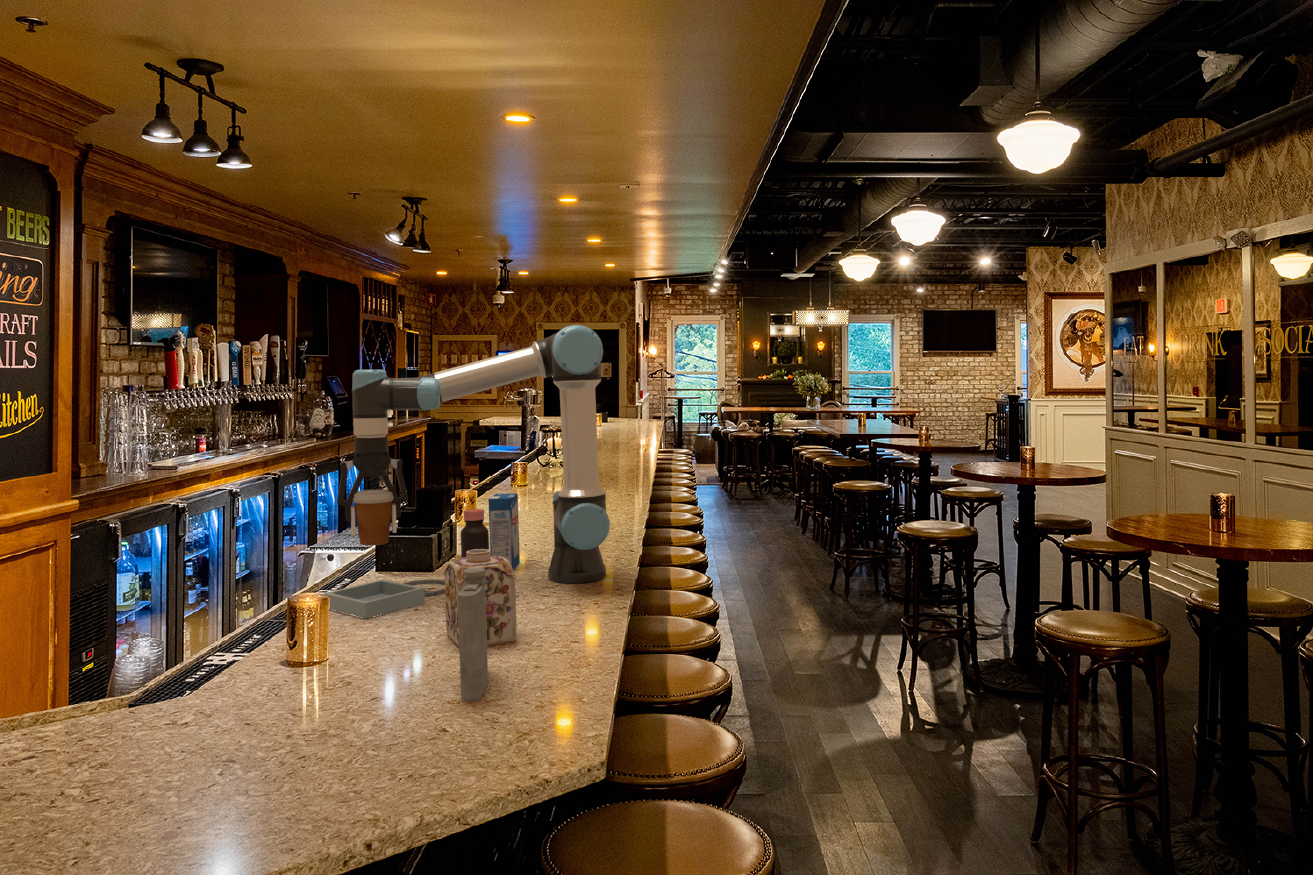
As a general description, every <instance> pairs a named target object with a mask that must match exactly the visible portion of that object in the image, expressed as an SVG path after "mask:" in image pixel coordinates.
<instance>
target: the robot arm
mask: <svg viewBox="0 0 1313 875" xmlns="http://www.w3.org/2000/svg"><path fill="white" fill-rule="evenodd" d="M603 356H604V349H603V343H602V340H601V338H600V337H599V335H598V334H597V332H595V331H594V330H593V329H591V328H590V327H588V326H585V325H582V324H574V325H568V326H565V327H563V328H562V329H560V330H559V331H558V332H555V333H553V334H552V335H550V336H548V337H545V338H542V339H539V340H536V341H535V340H534V341H533V343H532V345H531V346H528V347H525V348H521V349H518V350H513V351H510V352H506V353H502V354H499V355H495V356H491V357H488V358H484V359H481V360H477V361H473V362H469V363H466V364H461V365H459V366H455V367H451V368H447V369H445V370H440V371H437V372H434V373H428V374H426V375H421V376H418V377H399V378H397V377H396V378H394V377H388V375H387V371H386V370H385V369H357V370H354V372H353V373H352V383H351V384H352V389H351V395H352V413H353V415H352V417H353V422H352V424H353V435H354V436H356V437H354V439H353V447H354V448H353V450H354V451H353V454H354V456H353V458H352V460H348V461H341V462H340V470H341V475H340V476H341V477H340V481H339V488H338V492H337V498H336V503H337V505H338V506H342V507H344V509H345V510H344V511H345V520H346V522H350V529H351V534H350V535H351V537H355V536H356V514H355V507H354V505H352V504H353V503H354V502H353V499H354V495H355V494H357V491H359V488H360V487H361V484H362V482H363V480H364V478H369V477H381V478H382V481H383V482H384V484H385V486H386V488H387V490H389V492H392V494H393V497H394V498H393V502H394V503H392V511H391V532H392V533H393V534H394V533H395V534H396V533H397V519H399V518H401V516H402V511H401V510H402V506H401V505H402V503H406V502H408V501H409V493H408V491H407V486H406V482H405V476H404V473H403V464H404V461H403V460H402V459H400V458H399V459H394V458H391V457H390V455H389V452H390V451H389V438H388V437H387V435H388V434H389V428H388V427H389V425H388V424H389V422H388V421H389V420H388V411H425V412H426V411H429V410H438V409H439V408H440V406H441V403H443V402H447V401H450V400H451V401H452V400H453V399H457V398H463V397H466V396H469V395H473V394H476V393H480V392H483V391H484V392H485V391H487V390H490V389H494V388H498V387H501V386H506V385H509V384H513V383H515V382H516V383H517V382H519V381H523V380H527V379H531V378H534V377H539V376H541V377H542V378H544V379H546V378H549V377H552V382H553V384H554V385H555V386H556V387H557V388H558V389H559V401H560V403H559V405H560V425H561V447H562V449H561V450H562V471H563V488H562V489H560V490H558V491H555V492H554V493H553V496H552V498H553V499H552V502H551V503H552V508H553V510H552V511H553V513H552V514H553V540H554V542H553V543H554V548H553V552H552V556H551V559H550V563H549V564H550V566H548V570H547V572H548V573H547V574H548V579H549V580H550V581H552V582H556V583H562V584H582V583H584V584H585V583H591V582H596V581H601V580H602V579H604V578H606V576H607V567H606V564H605V563H604V559H603V557H602V552H601V549H600V545H602V544H603V543H604V542H605V541H606V538H608V535H609V533H610V528H611V526H610V525H611V522H610V518H609V517H610V516H609V515H608V513H607V500H606V496H607V494H606V493H607V492H606V490H604V489H603V487H601V486H600V478H599V477H600V476H599V453H598V452H599V451H598V450H599V448H598V432H597V431H598V429H597V427H598V426H597V403H596V401H597V400H596V387H597V386H598V385H599V384H600V383H601V381H602V368H601V362H602V359H603ZM390 464H391V465H392V468H393V469H395V473H396V477H397V480H398V486H399V489H400V495H401V496H399V495H398V493H397V491H396V489H395V488H394V486H393V484H392V482H391V480H390V478H389V476H388V474H387V472H386V470H387V469H388V467H389V466H390ZM353 466H354V468H355V469H356V470H357V471H358V473H357V475H356V478H355V480H354V483H353V485H352V487H351V490H350V491H349V494H348V496H347V498H346V500H345V499H344V498H345V492H346V488H347V487H346V485H347V480H348V475H349V473H348V472H349V471H351V468H352V467H353Z"/></svg>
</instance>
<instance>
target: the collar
mask: <svg viewBox="0 0 1313 875" xmlns="http://www.w3.org/2000/svg"><path fill="white" fill-rule="evenodd" d="M402 583H403V584H407V585H412V586H416V585H425V584H438V585H444V586H445V579H435V578H434V579H430V578H429V579H418V580H410V581H405V582H402ZM424 593H425V597H433V596H434V597H435V596H438V595H442V594H445V587H444V588H442V589H436V590H433V591H426V592H425V591H424Z"/></svg>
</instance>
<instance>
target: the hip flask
mask: <svg viewBox="0 0 1313 875" xmlns="http://www.w3.org/2000/svg"><path fill="white" fill-rule="evenodd" d="M483 575H485V569H483V568H470V569H466V570H464V576H465V586H464V588H463V589H462V590H461V591H460V592H459V593H458V594H457V597H458V624H459V647H458V649H459V676H460V677H459V678H460V697H461V698H460V699H461V700H460V701H463V702H465V703H470V702H471V703H472V702H476V701H479V700H481V698H482V696H483V695H484V694H485V692H486V690H487V687H488V683H489V667H488V666H489V663H488V646H487V632H486V602H485V578H484V576H483Z"/></svg>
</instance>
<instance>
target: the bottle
mask: <svg viewBox="0 0 1313 875" xmlns="http://www.w3.org/2000/svg"><path fill="white" fill-rule="evenodd" d="M463 521H464V522H465V525H464V527H462V529H461V531H460V553H461V554H460V555H461V557H460V558H463V557H466V552H467V551H469V550H475V549H487V550H489V551H490V530H489V529H488V527H486V526H485V524H484V521H485V510H484V509H483V508H473V509H472V508H471V509H465V510H463Z"/></svg>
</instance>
